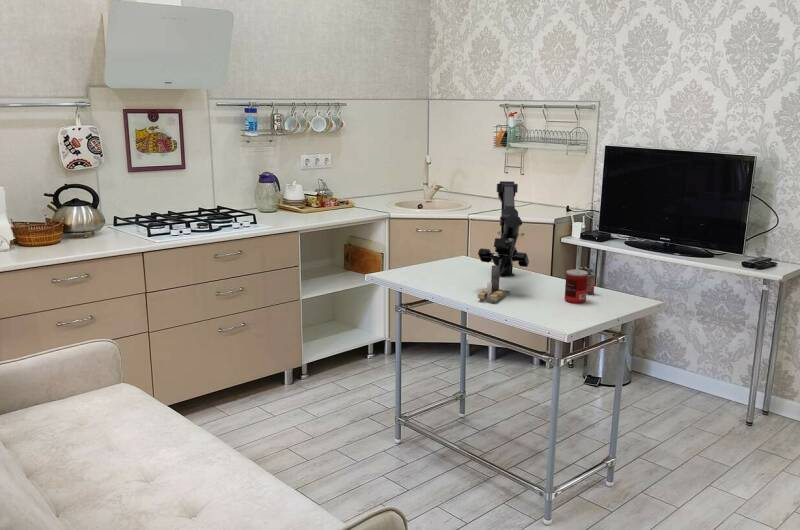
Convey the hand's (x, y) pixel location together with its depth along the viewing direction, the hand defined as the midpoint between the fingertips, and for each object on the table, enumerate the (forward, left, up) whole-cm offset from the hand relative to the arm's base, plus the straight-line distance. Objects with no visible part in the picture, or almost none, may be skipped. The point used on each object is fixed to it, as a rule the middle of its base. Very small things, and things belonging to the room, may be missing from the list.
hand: (497, 276), depth 264 cm
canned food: (-24, +16, -8) cm, 30 cm away
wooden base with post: (+4, +3, -6) cm, 8 cm away
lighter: (-34, +8, -8) cm, 36 cm away
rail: (+1, +1, -8) cm, 8 cm away
